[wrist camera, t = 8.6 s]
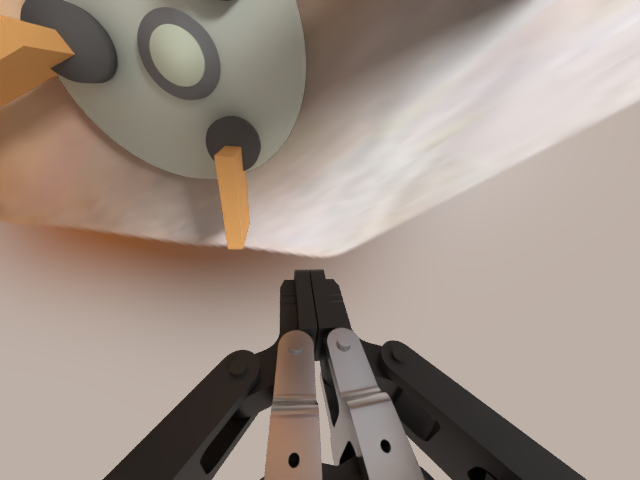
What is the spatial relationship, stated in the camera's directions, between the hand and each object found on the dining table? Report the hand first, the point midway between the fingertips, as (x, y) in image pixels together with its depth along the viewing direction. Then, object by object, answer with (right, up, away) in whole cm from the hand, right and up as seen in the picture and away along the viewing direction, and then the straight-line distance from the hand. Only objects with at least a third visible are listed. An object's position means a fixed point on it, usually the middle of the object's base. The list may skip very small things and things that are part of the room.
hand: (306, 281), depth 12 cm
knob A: (-17, +14, +3) cm, 22 cm away
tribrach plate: (-9, +16, +5) cm, 19 cm away
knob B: (-6, +8, +8) cm, 13 cm away
